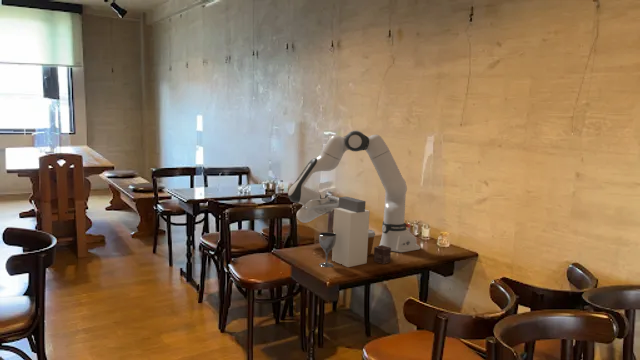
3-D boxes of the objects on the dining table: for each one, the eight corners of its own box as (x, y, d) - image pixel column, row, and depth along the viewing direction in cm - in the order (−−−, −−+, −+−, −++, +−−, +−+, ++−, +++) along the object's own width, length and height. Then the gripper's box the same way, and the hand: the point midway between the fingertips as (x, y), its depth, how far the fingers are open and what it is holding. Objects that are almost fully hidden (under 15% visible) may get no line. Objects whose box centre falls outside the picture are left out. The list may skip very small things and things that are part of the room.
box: (390, 262, 245) (391, 247, 244) (382, 264, 241) (383, 249, 240) (380, 259, 249) (381, 244, 248) (373, 261, 245) (374, 246, 244)
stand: (330, 259, 244) (333, 197, 239) (348, 256, 251) (352, 195, 247) (348, 267, 234) (352, 202, 229) (367, 263, 241) (370, 200, 236)
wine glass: (328, 261, 242) (329, 231, 239) (338, 265, 235) (339, 235, 233) (314, 263, 237) (316, 233, 235) (324, 268, 231) (326, 237, 228)
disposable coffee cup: (377, 255, 255) (379, 232, 253) (362, 257, 250) (363, 234, 249) (367, 250, 263) (368, 228, 262) (352, 252, 259) (353, 229, 257)
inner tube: (324, 201, 252) (324, 194, 252) (329, 200, 254) (329, 194, 254) (355, 209, 234) (355, 202, 234) (360, 208, 236) (360, 202, 236)
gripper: (299, 203, 254) (314, 193, 244) (330, 200, 267) (346, 191, 257) (303, 215, 253) (318, 206, 242) (333, 211, 265) (349, 202, 255)
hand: (332, 198), depth 250 cm, fingers open, 4 cm apart
